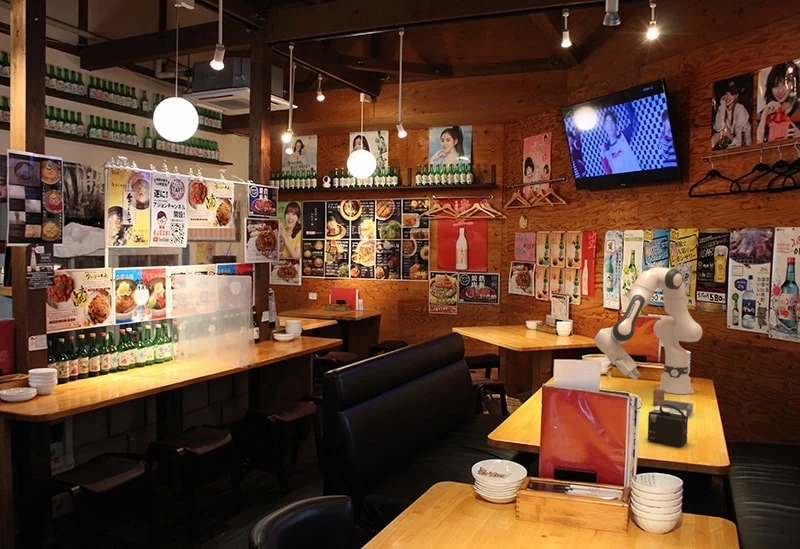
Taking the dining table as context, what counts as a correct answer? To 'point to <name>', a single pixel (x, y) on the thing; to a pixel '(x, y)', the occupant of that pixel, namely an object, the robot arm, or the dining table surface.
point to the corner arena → (683, 406)
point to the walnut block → (658, 397)
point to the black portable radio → (667, 427)
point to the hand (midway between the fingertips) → (638, 378)
